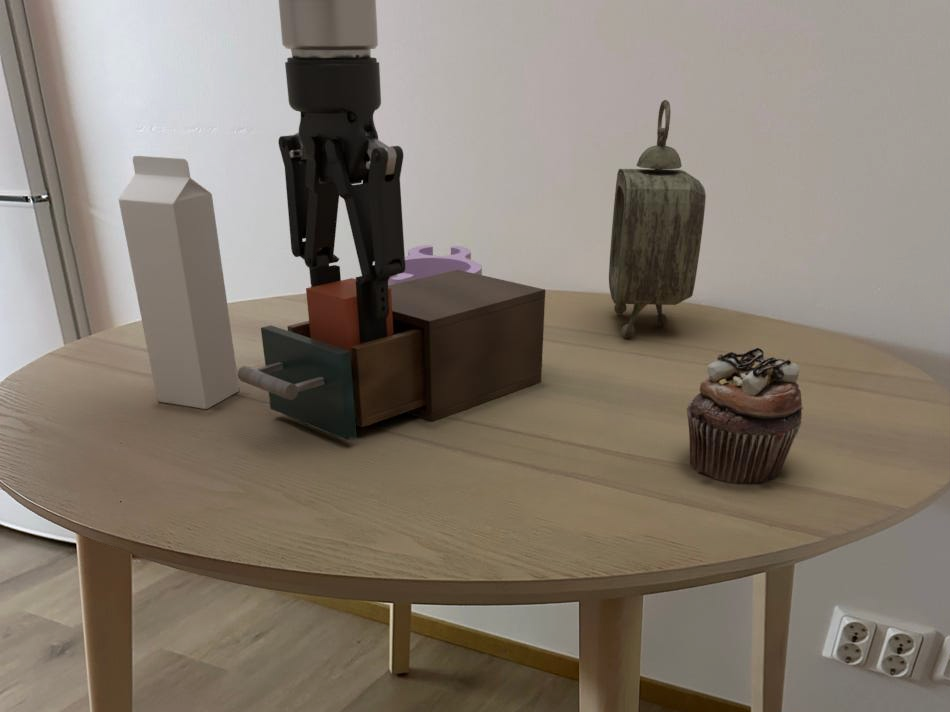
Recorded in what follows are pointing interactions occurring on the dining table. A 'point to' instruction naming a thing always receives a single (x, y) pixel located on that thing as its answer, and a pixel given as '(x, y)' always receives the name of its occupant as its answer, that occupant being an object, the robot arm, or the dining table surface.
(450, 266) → the clip
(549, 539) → the dining table surface
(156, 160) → the milk
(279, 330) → the drawer
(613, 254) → the tabletop clock
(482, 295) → the cabinet
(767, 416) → the cupcake
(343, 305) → the block
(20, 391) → the dining table surface
